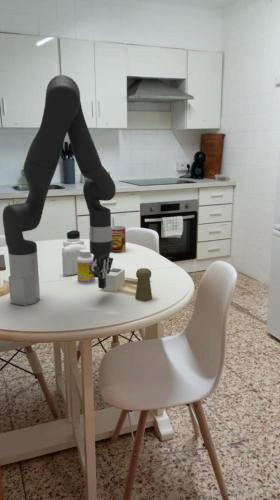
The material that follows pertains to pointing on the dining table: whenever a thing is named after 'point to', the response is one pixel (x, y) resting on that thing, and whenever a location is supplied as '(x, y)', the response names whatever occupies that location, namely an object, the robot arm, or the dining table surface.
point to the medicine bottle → (73, 238)
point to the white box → (115, 279)
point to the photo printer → (71, 258)
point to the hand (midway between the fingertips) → (102, 287)
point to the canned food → (118, 239)
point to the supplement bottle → (85, 267)
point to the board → (127, 287)
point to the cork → (143, 285)
